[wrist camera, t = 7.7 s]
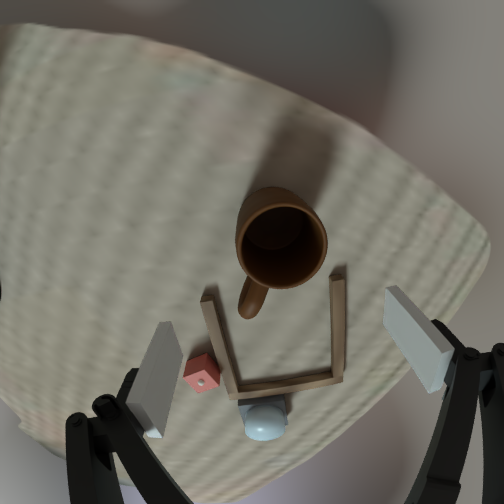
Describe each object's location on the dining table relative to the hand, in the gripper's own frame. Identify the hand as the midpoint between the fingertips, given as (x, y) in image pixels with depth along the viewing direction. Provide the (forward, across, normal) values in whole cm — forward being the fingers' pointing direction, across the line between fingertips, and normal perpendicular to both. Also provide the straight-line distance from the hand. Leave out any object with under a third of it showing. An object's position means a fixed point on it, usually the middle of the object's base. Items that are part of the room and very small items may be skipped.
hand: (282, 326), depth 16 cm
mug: (+17, 0, 0) cm, 17 cm away
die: (+17, -11, -17) cm, 26 cm away
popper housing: (+17, -4, -28) cm, 33 cm away
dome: (+15, -4, -28) cm, 32 cm away
